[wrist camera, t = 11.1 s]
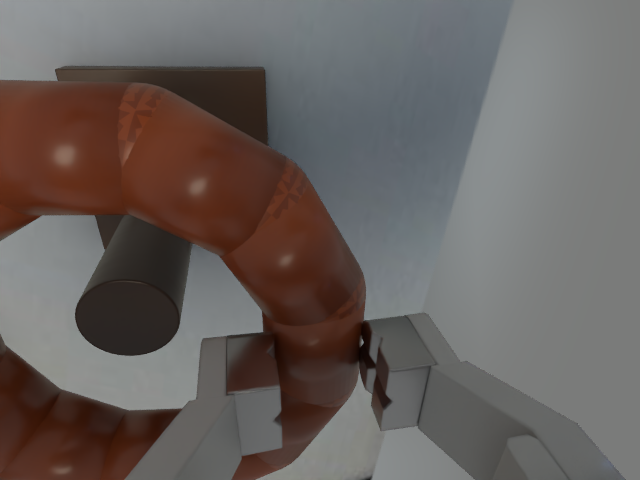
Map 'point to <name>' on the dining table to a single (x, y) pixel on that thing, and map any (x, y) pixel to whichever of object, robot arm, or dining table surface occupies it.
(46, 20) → the dining table surface
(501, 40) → the dining table surface
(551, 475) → the robot arm
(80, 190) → the ring
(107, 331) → the post
